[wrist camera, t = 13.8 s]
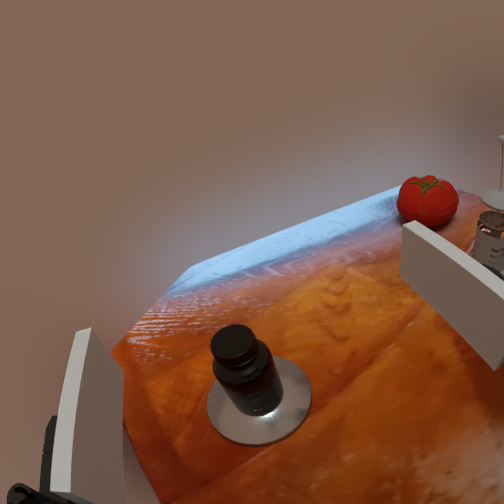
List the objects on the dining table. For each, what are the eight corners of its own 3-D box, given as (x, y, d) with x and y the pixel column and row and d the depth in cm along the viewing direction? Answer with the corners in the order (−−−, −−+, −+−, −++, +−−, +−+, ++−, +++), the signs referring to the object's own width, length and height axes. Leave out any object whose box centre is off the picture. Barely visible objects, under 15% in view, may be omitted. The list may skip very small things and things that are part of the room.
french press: (457, 260, 48) (465, 131, 35) (488, 241, 49) (498, 125, 36) (491, 287, 40) (514, 146, 27) (520, 264, 41) (540, 139, 28)
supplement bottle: (234, 379, 40) (204, 321, 33) (282, 371, 39) (263, 310, 33) (232, 421, 34) (197, 369, 28) (286, 414, 33) (266, 360, 27)
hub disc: (289, 347, 44) (288, 342, 43) (329, 420, 32) (328, 416, 31) (202, 379, 42) (199, 375, 41) (222, 460, 30) (219, 457, 29)
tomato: (465, 216, 59) (468, 178, 54) (433, 244, 54) (436, 201, 49) (421, 199, 70) (420, 164, 65) (384, 222, 66) (382, 183, 61)
